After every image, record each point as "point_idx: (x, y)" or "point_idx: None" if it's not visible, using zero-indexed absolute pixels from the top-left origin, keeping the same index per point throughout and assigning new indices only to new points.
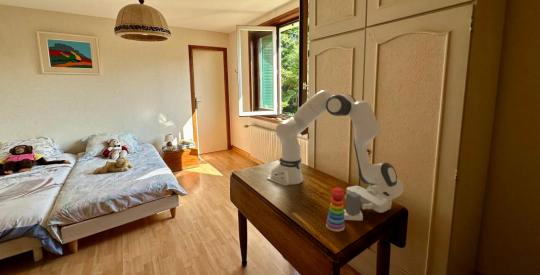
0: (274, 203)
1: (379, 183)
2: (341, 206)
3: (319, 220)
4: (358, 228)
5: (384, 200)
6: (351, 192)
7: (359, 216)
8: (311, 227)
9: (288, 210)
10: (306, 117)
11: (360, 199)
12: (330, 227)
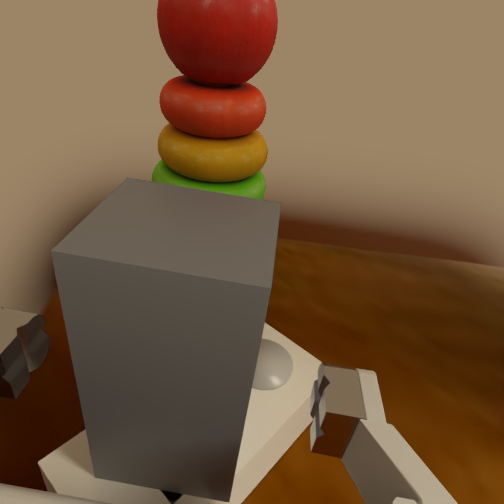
0: None
1: None
2: (164, 128)
3: (321, 306)
4: (65, 401)
5: None
6: (253, 243)
7: (80, 439)
8: (289, 252)
9: (481, 277)
10: None
11: (65, 319)
12: None
